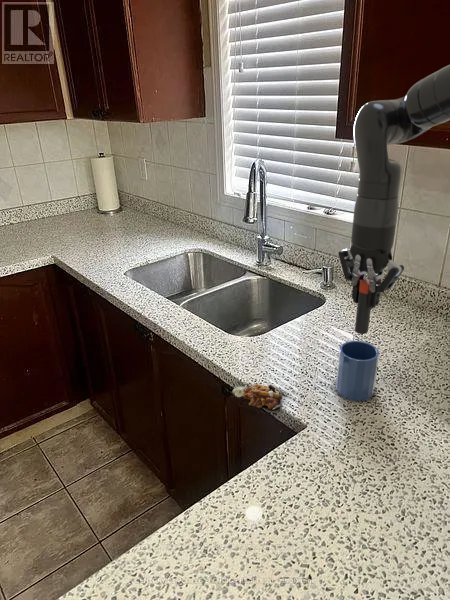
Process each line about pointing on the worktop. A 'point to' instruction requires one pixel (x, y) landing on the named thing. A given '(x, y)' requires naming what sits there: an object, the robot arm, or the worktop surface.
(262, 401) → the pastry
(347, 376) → the vase
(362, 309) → the marker
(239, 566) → the worktop surface
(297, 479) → the worktop surface
